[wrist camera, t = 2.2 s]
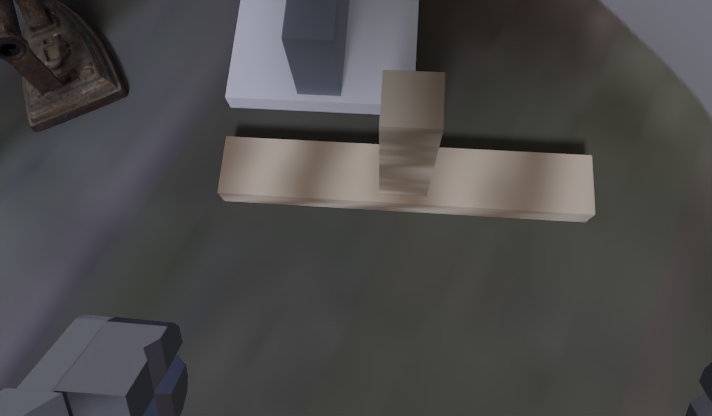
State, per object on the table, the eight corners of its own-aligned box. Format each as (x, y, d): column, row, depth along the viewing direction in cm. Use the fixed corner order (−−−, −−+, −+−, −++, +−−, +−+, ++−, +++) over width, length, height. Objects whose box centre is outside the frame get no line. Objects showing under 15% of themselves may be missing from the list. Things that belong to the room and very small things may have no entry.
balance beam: (225, 202, 38) (158, 124, 26) (233, 148, 39) (172, 51, 27) (583, 223, 36) (678, 151, 25) (581, 166, 37) (670, 72, 26)
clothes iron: (43, 145, 40) (-83, 48, 31) (31, 47, 45) (-78, -58, 37) (130, 102, 40) (28, -7, 31) (107, 9, 45) (15, -105, 37)
